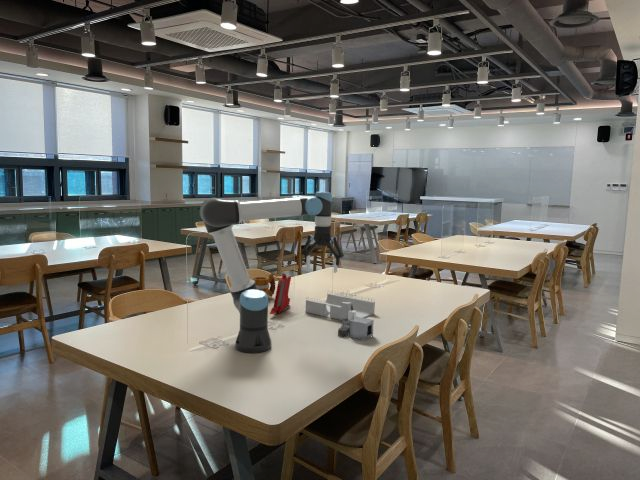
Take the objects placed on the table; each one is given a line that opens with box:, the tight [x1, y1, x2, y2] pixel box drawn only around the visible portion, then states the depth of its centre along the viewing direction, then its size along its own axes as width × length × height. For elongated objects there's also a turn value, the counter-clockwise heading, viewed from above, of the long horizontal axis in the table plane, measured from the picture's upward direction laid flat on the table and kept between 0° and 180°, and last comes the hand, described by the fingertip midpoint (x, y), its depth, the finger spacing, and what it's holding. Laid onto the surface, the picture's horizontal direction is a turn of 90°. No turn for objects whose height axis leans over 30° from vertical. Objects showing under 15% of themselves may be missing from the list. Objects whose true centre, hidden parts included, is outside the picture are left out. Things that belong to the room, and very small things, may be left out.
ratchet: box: [337, 310, 356, 338], centre depth 226 cm, size 20×9×8 cm, turn 159°
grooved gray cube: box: [349, 317, 374, 341], centre depth 217 cm, size 8×8×8 cm
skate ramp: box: [305, 290, 376, 321], centre depth 253 cm, size 30×27×11 cm
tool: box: [269, 272, 292, 315], centre depth 258 cm, size 24×5×25 cm, turn 168°
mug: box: [251, 272, 277, 301], centre depth 281 cm, size 11×16×15 cm, turn 132°
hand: (321, 270), depth 221 cm, fingers open, 13 cm apart
